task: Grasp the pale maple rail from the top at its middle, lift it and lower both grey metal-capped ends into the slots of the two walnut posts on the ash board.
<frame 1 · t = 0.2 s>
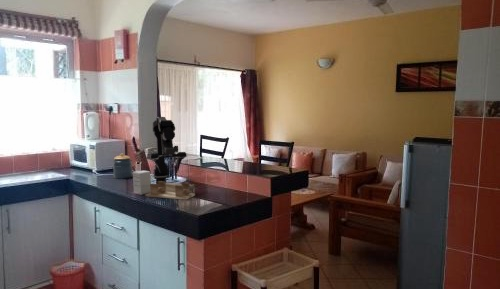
hand: (169, 172, 197), 15 cm above the table, tool pointing down, fingers open, 9 cm apart
canister: (123, 177, 270), on the table
rail: (177, 192, 216), on the table
supplement box: (142, 193, 217), on the table
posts: (170, 195, 208), on the table
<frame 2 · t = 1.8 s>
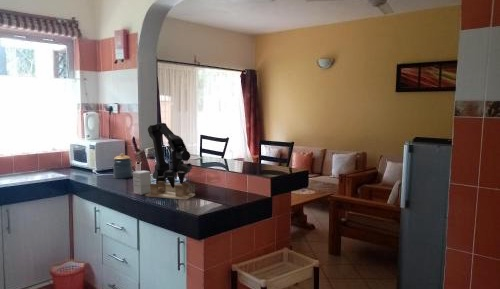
hand: (177, 186, 216), 4 cm above the table, tool pointing down, fingers open, 9 cm apart
nothing on the table moved.
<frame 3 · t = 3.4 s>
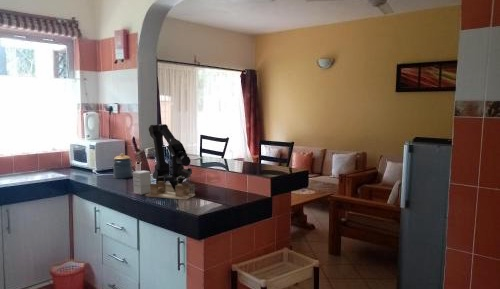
hand: (177, 191, 216), 1 cm above the table, tool pointing down, fingers closed on rail, 3 cm apart
rail: (177, 192, 216), on the table, touching gripper
everything else where it was.
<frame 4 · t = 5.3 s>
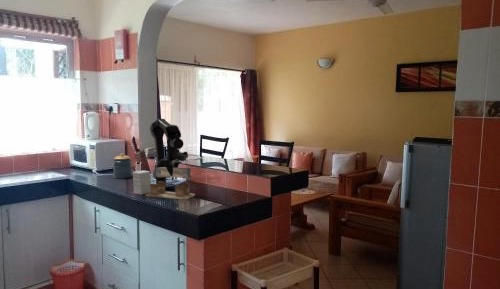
hand: (173, 175, 210), 11 cm above the table, tool pointing down, fingers closed on rail, 3 cm apart
rail: (173, 176, 211), point 10 cm above the table, touching gripper
everything else where it was.
when the fingers open (6 cm above the table, at t = 7.3 s): rail drops 1 cm, resting on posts.
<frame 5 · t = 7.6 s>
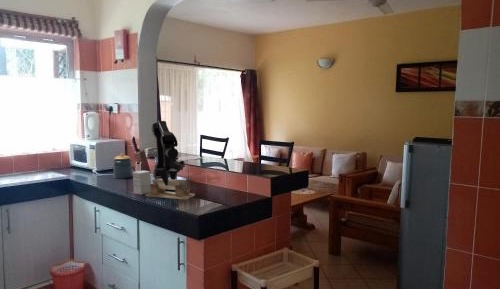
hand: (169, 184, 208), 6 cm above the table, tool pointing down, fingers open, 6 cm apart
rail: (170, 188, 208), point 4 cm above the table, touching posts
everything else where it was.
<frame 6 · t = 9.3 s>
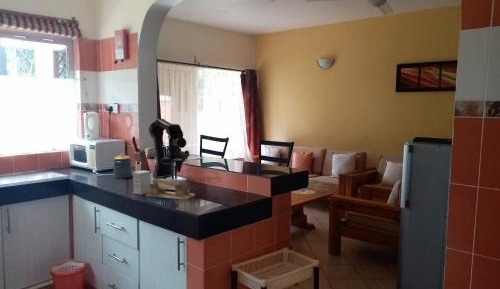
hand: (174, 173, 213), 12 cm above the table, tool pointing down, fingers open, 9 cm apart
nothing on the table moved.
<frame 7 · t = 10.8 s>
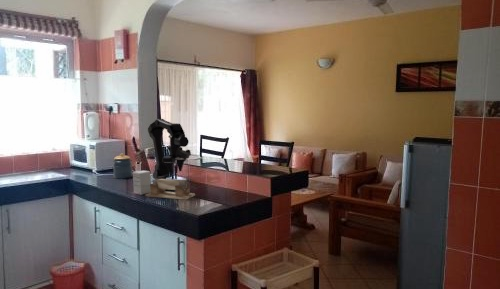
hand: (176, 172, 214), 12 cm above the table, tool pointing down, fingers open, 9 cm apart
nothing on the table moved.
at the end: rail 0.0 cm off-centre on the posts, point 4.0 cm above the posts's base; rail tilted 0°; the gripper is holding nothing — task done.
